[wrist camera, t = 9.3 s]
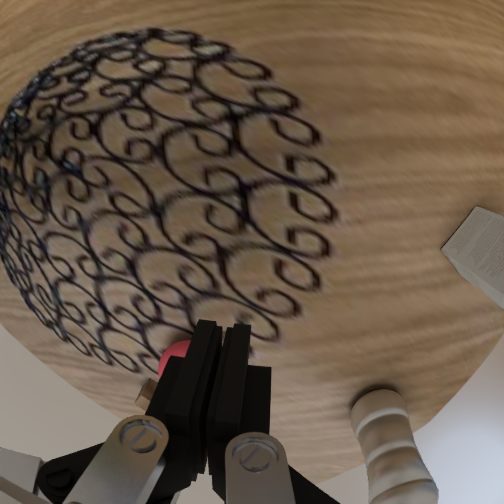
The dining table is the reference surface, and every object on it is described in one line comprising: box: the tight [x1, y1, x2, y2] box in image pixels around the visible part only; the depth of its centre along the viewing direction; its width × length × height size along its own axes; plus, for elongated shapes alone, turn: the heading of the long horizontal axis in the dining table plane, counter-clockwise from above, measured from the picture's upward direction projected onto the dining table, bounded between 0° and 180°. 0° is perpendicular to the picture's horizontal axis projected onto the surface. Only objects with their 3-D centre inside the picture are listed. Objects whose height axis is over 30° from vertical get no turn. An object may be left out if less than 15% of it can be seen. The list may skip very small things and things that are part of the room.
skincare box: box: [441, 206, 504, 309], centre depth 20 cm, size 6×4×12 cm
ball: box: [158, 340, 191, 378], centre depth 29 cm, size 6×6×6 cm
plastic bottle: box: [351, 389, 439, 504], centre depth 23 cm, size 6×7×20 cm
